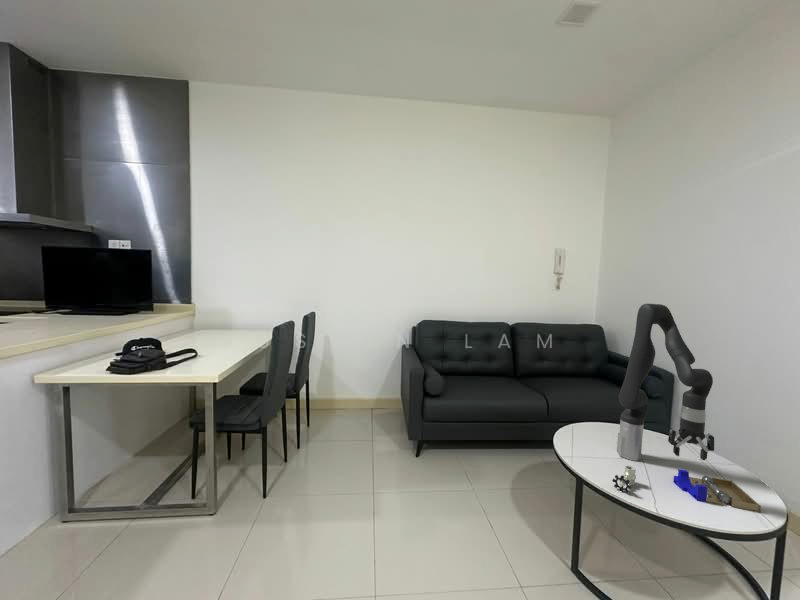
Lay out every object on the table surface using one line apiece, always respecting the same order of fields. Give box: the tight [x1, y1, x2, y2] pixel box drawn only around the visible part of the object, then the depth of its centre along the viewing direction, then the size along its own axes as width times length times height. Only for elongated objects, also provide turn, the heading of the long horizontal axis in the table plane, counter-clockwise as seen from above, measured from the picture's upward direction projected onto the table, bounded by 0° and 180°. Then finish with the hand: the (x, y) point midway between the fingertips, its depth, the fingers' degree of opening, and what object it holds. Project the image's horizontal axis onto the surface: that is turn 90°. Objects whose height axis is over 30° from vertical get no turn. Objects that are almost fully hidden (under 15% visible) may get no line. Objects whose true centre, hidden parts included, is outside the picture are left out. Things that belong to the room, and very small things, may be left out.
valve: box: [611, 465, 637, 494], centre depth 137 cm, size 7×7×12 cm
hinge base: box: [689, 475, 762, 513], centre depth 134 cm, size 16×17×3 cm
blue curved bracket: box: [672, 468, 707, 503], centre depth 135 cm, size 12×4×6 cm, turn 170°
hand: (689, 457), depth 134 cm, fingers open, 8 cm apart
